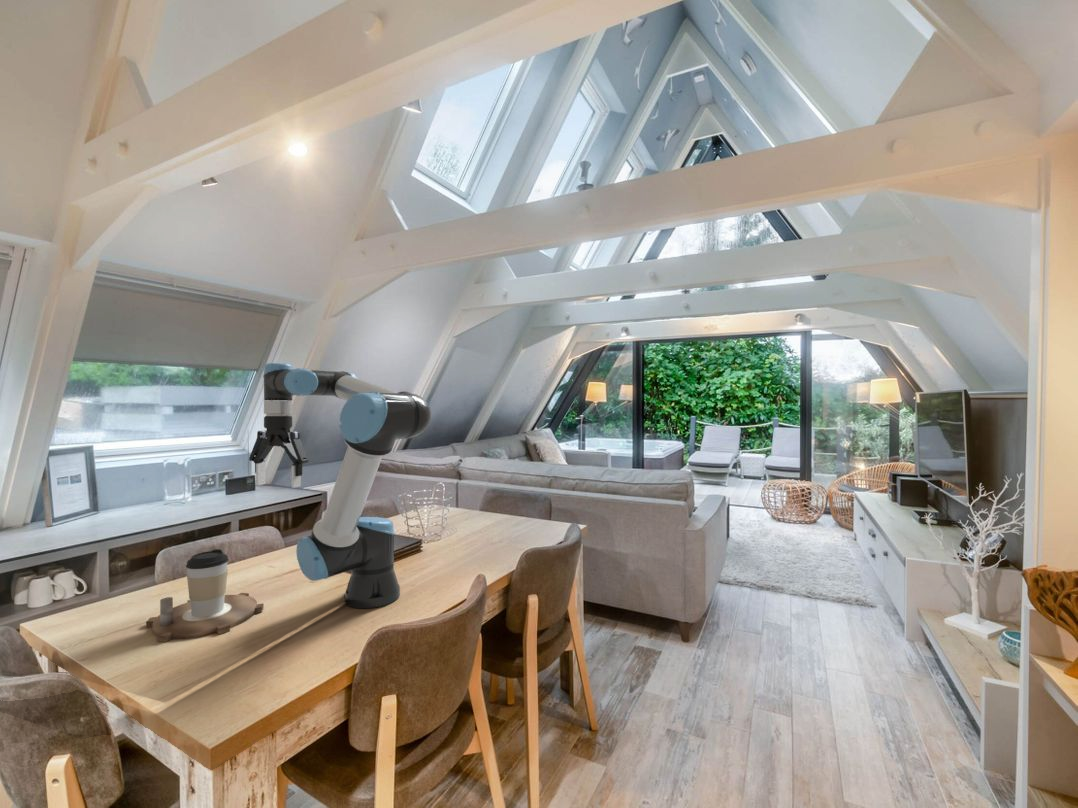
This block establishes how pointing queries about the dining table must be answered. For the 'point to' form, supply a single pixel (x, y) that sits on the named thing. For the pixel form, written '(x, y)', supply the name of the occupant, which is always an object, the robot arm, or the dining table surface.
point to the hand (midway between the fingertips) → (278, 485)
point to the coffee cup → (207, 582)
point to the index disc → (201, 618)
